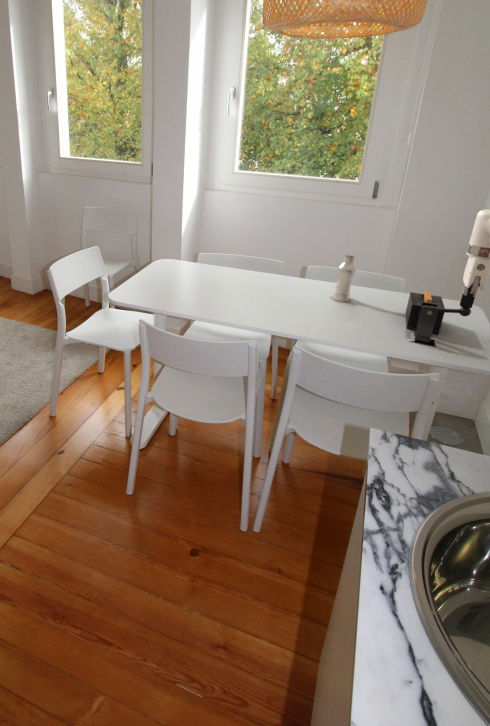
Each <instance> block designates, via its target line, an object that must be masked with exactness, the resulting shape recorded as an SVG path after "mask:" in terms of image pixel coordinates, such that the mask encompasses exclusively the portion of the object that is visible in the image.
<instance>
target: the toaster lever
mask: <svg viewBox="0 0 490 726" xmlns="http://www.w3.org/2000/svg"><path fill="white" fill-rule="evenodd" d="M424 306H429V305H424ZM431 307H434V306H431ZM438 312H445V313H448V314H459V315H460V316H462V317H468V316H470V315H471V314H472V308H466V307H461V306H460V308H445V309H440V308H438ZM445 313H444V314H445Z"/></svg>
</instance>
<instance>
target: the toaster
mask: <svg viewBox="0 0 490 726" xmlns="http://www.w3.org/2000/svg"><path fill="white" fill-rule="evenodd" d="M424 294H425V293H420V292H409V297H408V301H407V303H406V304H407V305H406V308H405V313H404V314H405V315H404V316H405V329H406V330H409V331H414V332H415V328H416V324H417V320H418V316H419V312H420V308H421V304H422V301H423V298H424ZM431 298H432V303H436V304H437V308H440V309H446V308H445V304H444V301H443V297H442V296H441V295H440V296H439V295H434V294H433V295H431ZM444 317H445V312H438V313H437V316H436V320H435V324H434V328H433V332H432V335H435V336H439V334H440V331H441V327H442V324H443V320H444Z"/></svg>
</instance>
